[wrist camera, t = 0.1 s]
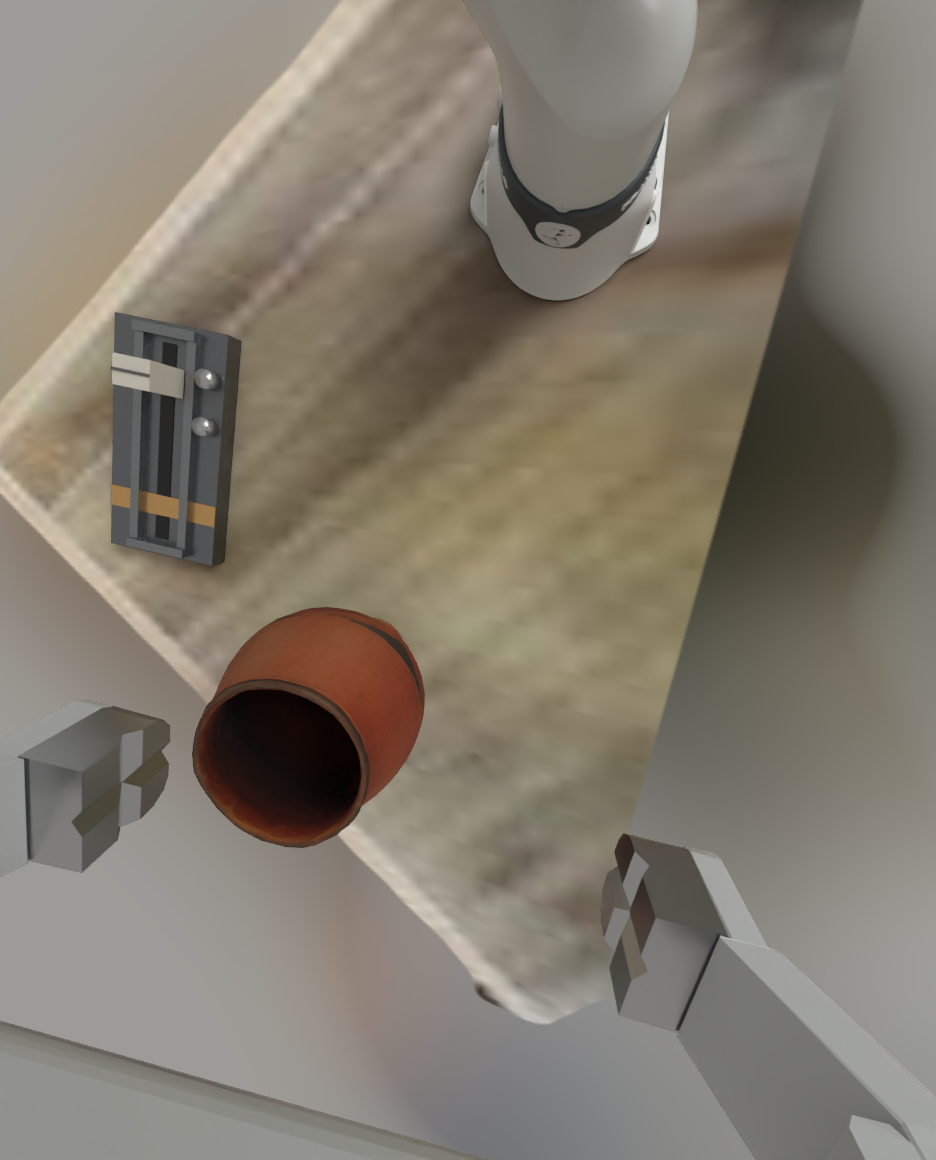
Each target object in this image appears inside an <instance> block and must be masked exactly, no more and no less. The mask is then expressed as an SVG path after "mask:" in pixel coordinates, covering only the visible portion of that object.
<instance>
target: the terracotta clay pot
mask: <svg viewBox="0 0 936 1160" xmlns="http://www.w3.org/2000/svg"><path fill="white" fill-rule="evenodd" d="M424 697H425V693H424V687H423V682H422V676H421V673H420V670H419V668H418V665H417V663H416V661H415V659H414V657H413V655H412V653H411V652H410V650H409V648H408V646H407V644H406V643H405V642H404V641H403V640H402V638H401V636H400V635H399V633H398V632H397V630H396V629H395V628H394V627H393V626H392V625H390V624H388V623H386V622H384V621H382V620H380V619H376V618H371V617H369V616H367V615H364V614H361V613H359V612H356V611H351V610H346V609H340V608H330V607H322V608H311V609H306V610H302V611H299V612H296V613H293V614H290V615H287V616H285V617H282V618H279V619H277V620H275V621H273V622H272V623H270V624H269V625H267V626H265V627H264V628H262V629H261V630H259V631H258V632H257V633H256V634H255V635H253V636H252V637H251V638H250V639H249V640H248V641H247V642H246V643H245V644H244V645H243V646H242V647H241V649H240V650H239V652H238V653H237V654H236V656H235V657H234V658H233V660H232V661H231V663H230V664H229V666H228V668H227V670H226V671H225V673H224V675H223V677H222V680H221V682H220V684H219V687H218V689H217V691H216V693H215V696H214V698H213V699H212V701H211V702H210V703H209V704H208V705H207V706H206V708H205V710H204V713H203V715H202V718H201V719H200V721H199V724H198V726H197V729H196V732H195V737H194V744H193V752H192V756H193V768H194V773H195V775H196V777H197V779H198V781H199V783H200V785H201V786H202V788H203V790H204V791H205V793H206V794H207V795H208V797H209V798H210V799H211V801H212V802H213V803H214V805H215V806H216V807H217V809H218V810H219V811H220V812H221V813H222V814H223V815H224V816H225V817H226V818H228V819H229V820H230V821H231V822H232V823H233V824H234V825H235V826H237V827H238V828H240V829H241V830H242V831H244V832H246V833H248V834H250V835H252V836H254V837H256V838H258V839H259V840H262V841H265V842H269V843H273V844H276V845H280V846H284V847H297V848H298V847H299V848H304V847H309V846H314V845H317V844H319V843H321V842H323V841H325V840H327V839H330V838H332V837H334V836H336V835H337V834H338V833H339V832H340V831H341V830H343V829H344V828H346V827H347V826H348V825H349V824H350V823H351V822H352V821H353V820H354V819H355V818H356V816H357V815H358V813H359V811H360V808H361V806H362V805H364V804H365V803H366V802H368V801H369V800H370V799H372V798H373V797H374V796H376V795H377V794H378V793H379V792H380V791H381V790H382V789H383V788H384V787H385V786H386V785H387V784H388V783H389V782H390V781H391V780H392V779H393V777H394V776H395V775H396V774H397V773H398V771H399V770H400V768H401V767H402V765H403V764H404V763H405V761H406V760H407V758H408V756H409V754H410V752H411V750H412V748H413V746H414V744H415V742H416V739H417V736H418V733H419V730H420V727H421V723H422V719H423V714H424Z"/></svg>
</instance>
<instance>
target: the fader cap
mask: <svg viewBox="0 0 936 1160" xmlns="http://www.w3.org/2000/svg"><path fill="white" fill-rule="evenodd" d="M111 370H112V384H115V385H120V386H125V387H129V388H134V389H139V390H143V391H148V392H153V393H157V394H162V395H167V396H172V397H176V398H181V399H183V391H184V371H185V370H181V369H178V368H175V367H171V366H168V365H165V364H161V363H158V362H155V361H151V360H147V359H142V358H138V357H133V356H128V355H123V354H118V353H114V352H112V366H111Z"/></svg>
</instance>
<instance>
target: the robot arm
mask: <svg viewBox="0 0 936 1160" xmlns="http://www.w3.org/2000/svg"><path fill="white" fill-rule="evenodd" d="M462 1H463V3H464V4H465V5H466V7H467V9H468V10H469V12H470V13H471V15H472V16H473V18H474V20H475V21H476V23H477V24H478V26H479V28H480V29H481V31H482V33H483V35H484V36H485V38H486V40H487V42H488V43H489V45H490V47H491V49H492V51H493V53H494V56H495V58H496V61H497V65H498V69H499V77H500V84H501V86H500V90H499V95H498V102H497V107H498V109H499V110H500V116H499V121H498V123H497V126H495V125H493V126H492V128H491V130H490V134H489V139H488V145H489V149H488V152H487V154H486V157H485V160H484V163H483V166H482V169H481V171H480V174H479V177H478V180H477V183H476V185H475V188H474V191H473V194H472V197H471V201H470V211H471V214H472V216H473V218H474V220H475V221H476V222H477V223H478V225H479V226H480V227H481V228H482V229H483V230H484V231H485V232H486V233H487V234H488V236H489V238H490V240H491V243H492V246H493V248H494V251H495V254H496V257H497V259H498V261H499V263H500V265H501V267H502V269H503V270H504V272H505V273H506V275H507V276H508V277H509V278H510V279H511V281H512V282H513V283H514V284H516V285H517V286H518V287H519V288H521V289H522V290H524V291H525V292H527V293H529V294H531V295H533V296H536V297H539V298H542V299H547V300H568V299H573V298H577V297H580V296H582V295H585V294H587V293H589V292H591V291H593V290H594V289H596V288H597V287H599V286H600V285H602V284H603V283H604V282H605V281H606V280H607V279H608V278H610V276H611V275H612V274H613V273H614V272H615V271H616V270H617V269H618V268H619V267H620V266H621V265H622V264H623V263H624V262H626V261H627V260H629V259H631V258H634V257H636V256H638V255H640V254H642V253H644V252H646V251H647V250H649V249H650V248H651V247H652V246H653V245H654V243H655V241H656V238H657V235H658V230H659V219H660V207H661V196H662V185H663V173H664V162H665V151H666V139H667V128H668V117H669V110H670V108H671V106H672V103H673V101H674V98H675V96H676V94H677V91H678V89H679V87H680V84H681V82H682V80H683V77H684V75H685V72H686V70H687V67H688V64H689V61H690V58H691V54H692V50H693V46H694V41H695V34H696V27H697V0H462ZM483 192H484V195H483ZM647 220H649V224H648V225H646V223H647ZM169 742H170V725H169V724H168V723H166V721H164V720H162V719H159V718H155V717H151V716H147V715H144V714H140V713H137V712H133V711H129V710H125V709H122V708H118V707H114V706H112V707H111V706H109V705H106V704H102V703H98V702H94V701H90V700H80V701H79V700H78V701H75V702H73V703H71V704H69V705H67V706H65V707H63V708H61V709H59V710H57V711H55V712H54V713H51V714H50V715H48V716H46V717H44V718H42V719H40V720H38V721H36V722H34V723H32V724H30V725H28V726H26V727H25V728H23V729H21V730H19V731H17V732H15V733H13V734H11V735H9V736H7V737H5V738H3V739H1V740H0V877H1V876H4V875H5V874H8V873H10V872H12V871H14V870H16V869H18V868H20V867H22V866H25V865H27V863H28V861H32V862H36V863H40V864H45V865H50V866H54V867H58V868H62V869H67V870H71V871H75V872H80V873H82V872H83V871H84V870H86V869H87V868H88V867H89V866H90V865H91V864H92V863H93V862H94V861H95V860H96V859H97V858H99V857H100V856H101V855H102V854H103V853H104V852H105V851H106V850H107V849H108V848H109V847H111V846H112V845H113V844H114V843H115V842H116V841H117V840H118V837H119V831H120V827H121V826H124V825H127V824H129V823H132V822H134V821H137V820H139V819H141V818H142V817H143V816H144V815H145V814H146V813H147V812H148V811H149V810H150V809H151V808H152V807H153V806H154V804H155V803H156V801H157V800H158V798H159V796H160V795H161V793H162V792H163V790H164V787H165V784H166V781H167V778H168V770H169V763H168V761H167V760H166V758H165V756H164V754H163V753H162V751H161V750H162V749H163V748H164V747H165V746H166V745H167V744H168V743H169ZM615 856H616V860H617V864H618V867H616V868H615V869H613V870H612V871H610V872H609V873H607V876H606V879H605V883H604V886H603V889H602V898H601V908H600V909H601V925H602V930H603V936H604V939H605V941H606V942H607V943H608V945H609V946H610V948H611V949H612V950H613V952H614V956H613V958H612V961H611V964H610V967H609V969H610V974H611V979H612V984H613V989H614V994H615V999H616V1004H617V1010H618V1014H619V1016H622V1017H626V1018H629V1019H632V1020H636V1021H639V1022H642V1023H646V1024H649V1025H653V1026H656V1027H659V1028H662V1029H666V1030H669V1031H672V1032H676V1033H678V1035H677V1037H678V1039H679V1041H680V1042H681V1044H682V1045H683V1047H684V1049H685V1050H686V1051H687V1053H688V1055H689V1056H690V1058H691V1059H692V1061H693V1063H694V1064H695V1066H696V1067H697V1069H698V1070H699V1072H700V1074H701V1075H702V1077H703V1078H704V1080H705V1081H706V1083H707V1085H708V1086H709V1088H710V1089H711V1091H712V1092H713V1094H714V1095H715V1097H716V1099H717V1100H718V1102H719V1103H720V1105H721V1106H722V1108H723V1110H724V1111H725V1113H726V1114H727V1116H728V1117H729V1119H730V1120H731V1122H732V1124H733V1125H734V1126H735V1128H736V1130H737V1131H738V1133H739V1135H740V1136H741V1138H742V1139H743V1141H744V1143H745V1144H746V1146H747V1147H748V1149H749V1150H750V1152H751V1153H752V1155H753V1157H754V1158H755V1160H936V1097H935V1096H934V1095H933V1094H932V1093H930V1092H929V1090H927V1089H926V1088H925V1087H924V1086H923V1085H922V1084H921V1083H920V1082H919V1081H918V1080H917V1079H916V1078H914V1076H912V1075H911V1074H910V1073H909V1072H908V1071H907V1070H906V1069H905V1068H904V1067H903V1066H902V1065H901V1064H899V1063H898V1062H897V1061H896V1060H895V1059H894V1058H893V1057H892V1056H891V1055H890V1054H889V1053H888V1052H887V1051H886V1050H885V1049H883V1048H882V1047H881V1046H880V1045H879V1044H878V1043H877V1042H876V1041H875V1040H874V1039H873V1038H872V1037H871V1036H869V1035H868V1034H867V1033H866V1032H865V1031H864V1030H863V1029H862V1028H861V1027H860V1026H859V1025H858V1024H857V1023H855V1022H854V1021H853V1020H852V1019H851V1018H850V1017H849V1016H848V1015H847V1014H846V1013H845V1012H844V1011H843V1010H842V1009H840V1008H839V1007H838V1006H837V1005H836V1004H835V1003H834V1002H833V1001H832V1000H831V999H830V998H829V997H827V996H826V995H825V994H824V993H823V992H822V991H821V990H820V989H819V988H818V987H817V986H816V985H815V984H813V983H812V981H810V980H809V979H808V978H807V977H806V976H805V975H804V974H803V973H802V972H801V971H800V970H799V969H798V968H796V967H795V966H794V965H793V964H792V963H791V962H790V961H789V960H788V959H787V958H786V957H785V956H784V955H783V954H781V953H780V952H779V951H777V950H774V949H770V948H768V947H767V945H766V943H765V941H764V940H763V938H762V936H761V934H760V932H759V930H758V928H757V926H756V925H755V923H754V921H753V919H752V917H751V915H750V913H749V911H748V910H747V908H746V906H745V904H744V902H743V900H742V898H741V896H740V895H739V893H738V891H737V889H736V887H735V885H734V883H733V881H732V880H731V878H730V876H729V874H728V872H727V870H726V868H725V866H724V864H723V863H722V861H721V859H720V858H719V857H718V856H717V855H715V854H714V853H711V852H706V851H701V850H696V849H692V848H688V847H679V846H675V845H670V844H666V843H662V842H658V841H654V840H649V839H645V838H641V837H637V836H633V835H629V834H625V833H624V834H623V835H622V836H621V838H620V839H619V841H618V844H617V846H616V849H615ZM0 1160H489V1159H485V1158H481V1157H478V1156H474V1155H470V1154H467V1153H464V1152H460V1151H457V1150H453V1149H450V1148H446V1147H443V1146H439V1145H436V1144H432V1143H429V1142H425V1141H422V1140H418V1139H414V1138H411V1137H407V1136H404V1135H400V1134H397V1133H393V1132H390V1131H386V1130H383V1129H379V1128H376V1127H372V1126H369V1125H365V1124H361V1123H358V1122H355V1121H351V1120H348V1119H344V1118H340V1117H337V1116H333V1115H330V1114H326V1113H323V1112H319V1111H316V1110H312V1109H308V1108H305V1107H302V1106H298V1105H295V1104H291V1103H288V1102H284V1101H281V1100H277V1099H274V1098H270V1097H267V1096H263V1095H260V1094H256V1093H253V1092H249V1091H246V1090H242V1089H238V1088H234V1087H231V1086H228V1085H224V1084H221V1083H217V1082H214V1081H210V1080H207V1079H203V1078H200V1077H196V1076H193V1075H189V1074H186V1073H182V1072H179V1071H175V1070H172V1069H168V1068H165V1067H161V1066H157V1065H154V1064H150V1063H147V1062H144V1061H140V1060H136V1059H133V1058H129V1057H126V1056H122V1055H119V1054H115V1053H112V1052H108V1051H105V1050H101V1049H98V1048H94V1047H91V1046H87V1045H83V1044H80V1043H76V1042H73V1041H70V1040H66V1039H63V1038H59V1037H56V1036H52V1035H49V1034H45V1033H42V1032H38V1031H35V1030H31V1029H28V1028H24V1027H21V1026H17V1025H14V1024H10V1023H7V1022H3V1021H0Z"/></svg>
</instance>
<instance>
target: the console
mask: <svg viewBox="0 0 936 1160" xmlns="http://www.w3.org/2000/svg"><path fill="white" fill-rule="evenodd" d="M240 352H241V341H240V340H238V339H235V338H233V337H231V336H229V335H225V334H220V333H216V332H211V331H206V330H201V329H196V328H191V327H186V326H181V325H176V324H171V323H166V322H161V321H156V320H151V319H147V318H142V317H137V316H132V315H127V314H122V313H117V312H115V343H114V353H118V354H123V355H128V356H133V357H138V358H142V359H147V360H151V361H155V362H158V363H161V364H165V365H168V366H171V367H175V368H178V369H181V370H185V371H184V391H183V399H181V398H176V397H172V396H167V395H162V394H157V393H153V392H148V391H143V390H139V389H134V388H129V387H125V386H120V385H115V384H114V404H113V465H112V484H111V504H112V526H111V543H114V544H118V545H123V546H127V547H131V548H136V549H140V550H144V551H149V552H153V553H158V554H162V555H166V556H171V557H175V558H179V559H184V560H188V561H193V562H197V563H201V564H206V565H210V566H213V565H216V564H219V563H223V562H224V559H225V546H226V533H227V520H228V507H229V494H230V481H231V468H232V455H233V443H234V430H235V417H236V404H237V391H238V378H239V365H240Z"/></svg>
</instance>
